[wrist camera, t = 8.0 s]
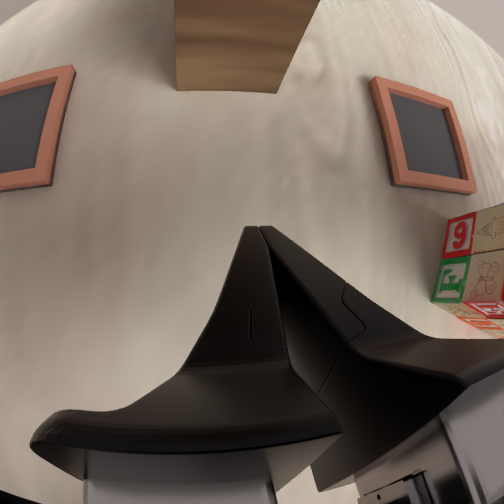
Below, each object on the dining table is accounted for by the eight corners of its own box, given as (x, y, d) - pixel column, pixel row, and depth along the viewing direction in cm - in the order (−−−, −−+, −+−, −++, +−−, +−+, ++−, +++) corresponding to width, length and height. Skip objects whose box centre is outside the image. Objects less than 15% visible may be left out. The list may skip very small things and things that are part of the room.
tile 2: (468, 195, 19) (476, 192, 18) (391, 185, 18) (400, 181, 17) (444, 106, 20) (451, 101, 19) (368, 83, 19) (375, 75, 18)
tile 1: (51, 186, 14) (44, 180, 13) (-40, 199, 13) (-48, 195, 12) (76, 73, 15) (72, 64, 14) (-13, 95, 14) (-18, 89, 13)
